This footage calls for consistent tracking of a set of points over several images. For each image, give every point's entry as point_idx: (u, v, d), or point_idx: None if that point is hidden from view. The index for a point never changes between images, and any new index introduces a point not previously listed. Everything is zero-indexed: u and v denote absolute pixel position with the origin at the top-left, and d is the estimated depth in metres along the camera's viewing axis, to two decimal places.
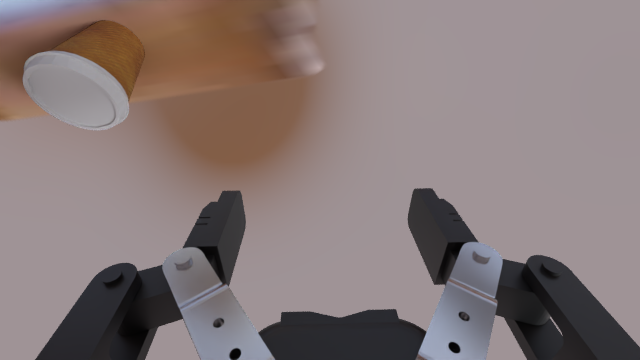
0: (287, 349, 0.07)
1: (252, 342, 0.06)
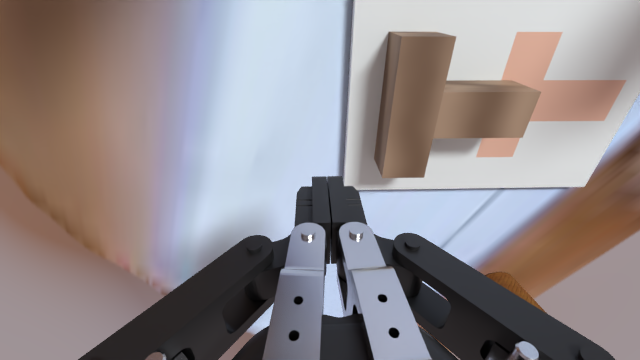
0: None
1: (311, 337, 0.06)
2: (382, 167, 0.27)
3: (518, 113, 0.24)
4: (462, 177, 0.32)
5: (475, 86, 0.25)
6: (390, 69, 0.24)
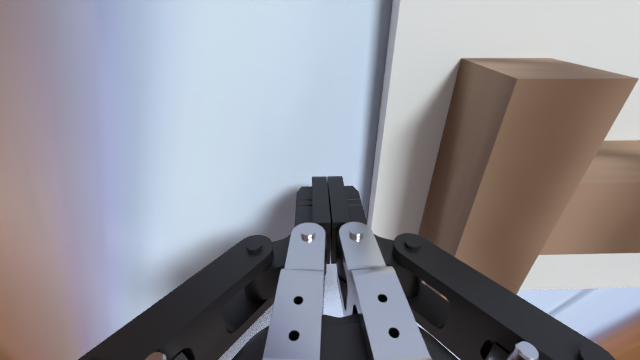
0: None
1: (312, 337, 0.06)
2: (436, 291, 0.15)
3: None
4: (549, 275, 0.20)
5: (622, 160, 0.13)
6: (466, 132, 0.12)
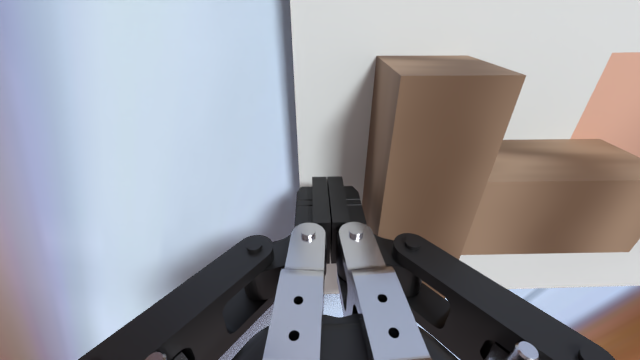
0: None
1: (311, 337, 0.06)
2: None
3: (631, 215, 0.12)
4: (493, 275, 0.20)
5: (543, 159, 0.13)
6: (379, 131, 0.12)
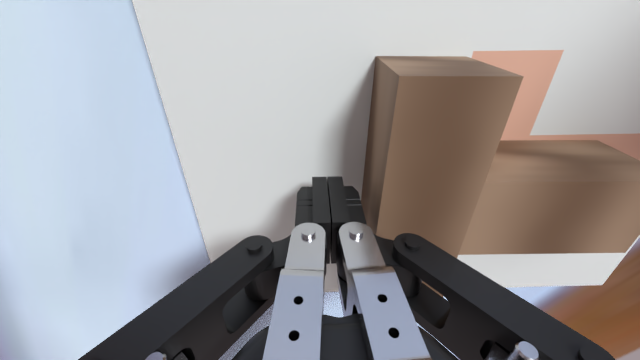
0: None
1: (311, 337, 0.06)
2: None
3: (627, 216, 0.12)
4: None
5: (540, 160, 0.13)
6: (377, 130, 0.12)
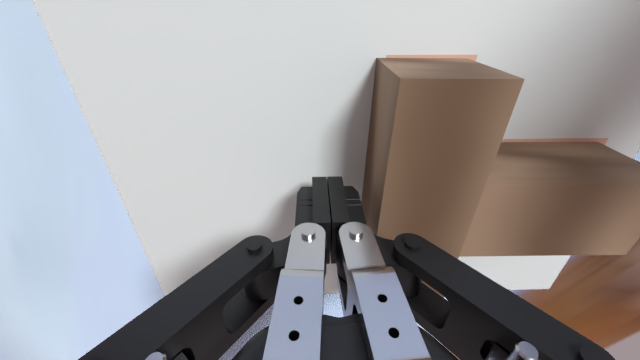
0: None
1: (312, 337, 0.06)
2: None
3: (627, 217, 0.12)
4: None
5: (541, 162, 0.13)
6: (378, 132, 0.12)
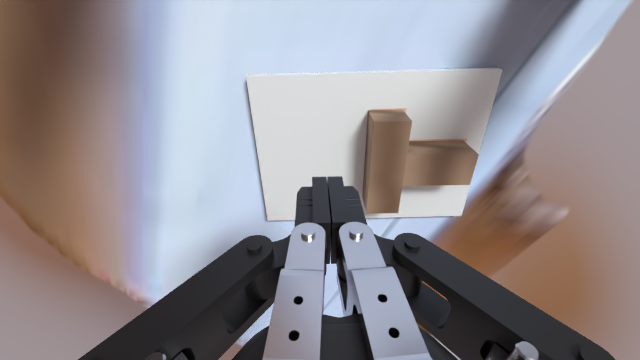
0: None
1: (311, 337, 0.06)
2: (366, 205, 0.36)
3: (464, 168, 0.33)
4: None
5: (432, 148, 0.34)
6: (369, 138, 0.33)
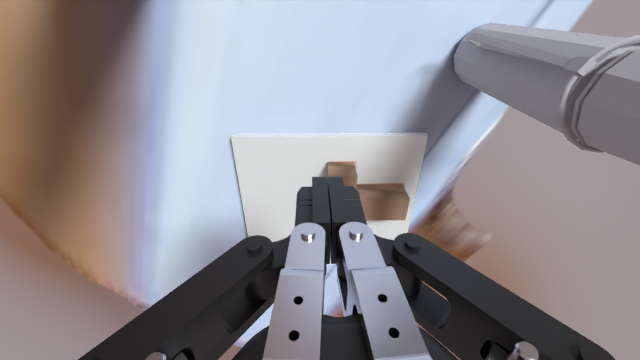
0: None
1: (311, 337, 0.06)
2: None
3: (399, 208, 0.43)
4: None
5: (376, 192, 0.43)
6: None
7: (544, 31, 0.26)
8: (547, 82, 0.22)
